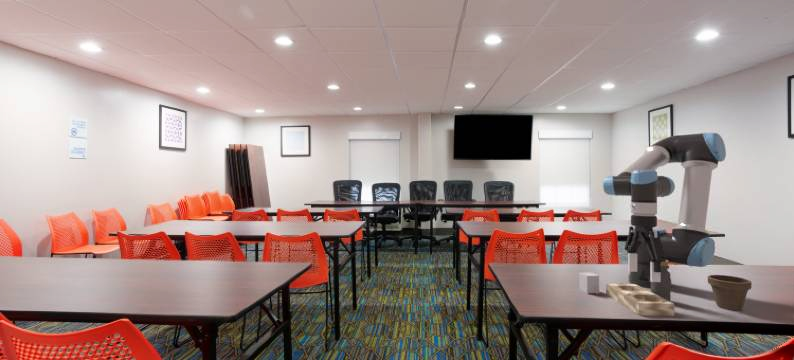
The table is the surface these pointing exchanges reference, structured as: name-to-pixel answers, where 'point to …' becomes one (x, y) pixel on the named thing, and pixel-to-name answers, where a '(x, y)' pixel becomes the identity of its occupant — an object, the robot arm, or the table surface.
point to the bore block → (640, 300)
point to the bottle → (662, 283)
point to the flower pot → (729, 291)
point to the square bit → (589, 282)
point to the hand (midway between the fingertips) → (643, 276)
